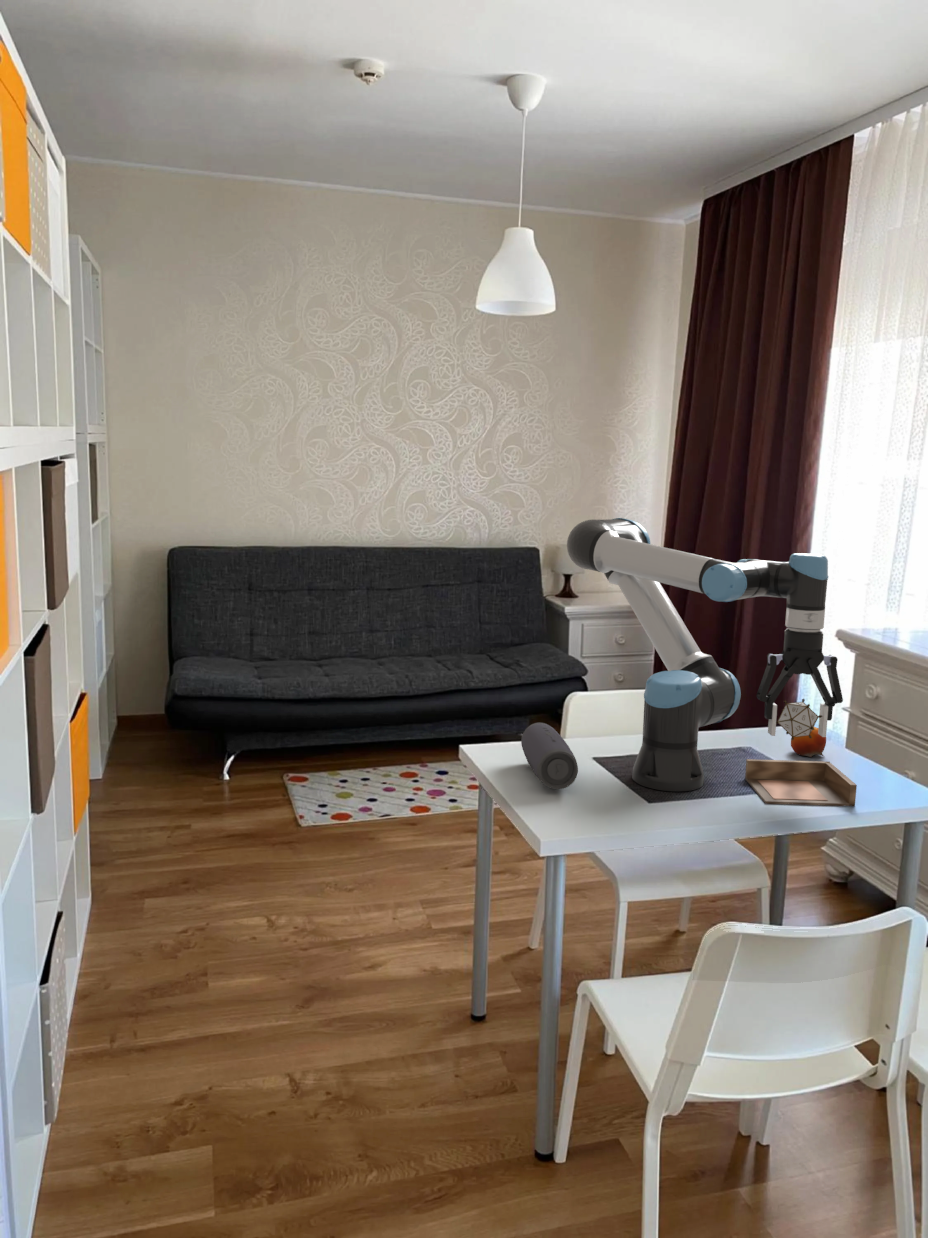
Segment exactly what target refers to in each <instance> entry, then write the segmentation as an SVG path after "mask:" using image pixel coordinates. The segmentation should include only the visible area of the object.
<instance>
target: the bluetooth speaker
mask: <svg viewBox="0 0 928 1238" xmlns="http://www.w3.org/2000/svg"><path fill="white" fill-rule="evenodd" d="M520 742H521V748H522V750H523V754H524V757H525V759H526V761H527V764H528V765H529V766H528V767H530V769H531V770H532V772H533V773H534V774H535V775H536V777H537V778H538V780H539V781H540V782H541V783H543V785H545V786H546V787H547V788H549V789H553V790H562V789H563V790H564V789H566V788H568V787H570V786H571V785H572V784H573V783H574V782H575V780H576V779H577V777H578V775H579V774H578V772H579V765H578V762H577V758H576V757H575V755H574V753H573V751H572V750H571V748H570V746H569V745H568V744H567V742H566V741H565V740H564V738H563V737H562V736H561V735H560V733H558V731H556V729H555V728H554V727H552V726H551V725H549V724H547V723H545V722H534V723H532V724H530V725H528V726H527V727H526V728H525V729H524V731H523V732H522V735H521V739H520Z"/></svg>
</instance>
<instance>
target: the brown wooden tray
mask: <svg viewBox="0 0 928 1238" xmlns="http://www.w3.org/2000/svg"><path fill="white" fill-rule="evenodd" d="M744 774H745V775H744V777H745V778H744V780H745V781H746V782H747V783H748V784H749V786H750V787H751V788H752V789H753V790H754V791H755V793H756V794H757V795H758V797H759V798H760V799H761V800H762V802H763V803H765V804H766V805H797V806H798V805H801V806H802V805H803V806H826V807H827V806H831V807H856V799H857V798H856V797H857V796H856V795H857V787H858V786H857V785H858V784H856V783H855V782H854V781H853V780H851V779H850V778H849V777H848V776H847V775H845V773H843V772H842V771H841V770H839V768H838V767H837V766H835V765H834V764H832V762H830V761H824V760H823V761H819V760H818V761H817V760H816V761H815V760H791V759H790V760H789V759H788V760H787V759H786V760H785V759H784V760H783V759H758V758H757V759H756V758H755V759H754V758H753V759H751V758H749V759H747V758H746V760H745V773H744Z"/></svg>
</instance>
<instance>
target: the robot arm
mask: <svg viewBox="0 0 928 1238" xmlns="http://www.w3.org/2000/svg"><path fill="white" fill-rule="evenodd" d="M566 549H567V554H568V556H569V558H570V559H571V561H572V563H574V564H575V566H578V567H579V568H581V569H584V570H590V571H595V572H598V573H602V574H604V577H605V578H606V579H607V581H608V583H609V584H612V585H616V586H618V587H619V589H620V591H621V593H622V594H623V595H624V598H625V599H626V601H627V603H628V604H629V606H630V608H631V609H632V611H633V613H634V614H635V616H636V618H637V620H638V621H639V623H640V625H641V626H642V628H643V630H644V633H645V634H646V635H647V637H648V638H649V641H650V642H651V644H652V646H653V647H654V649H655V651H656V652H657V654H658V656H659V657H660V659H661V661H662V662H663V665H664V666H665V668H666V669H667V670H662V671H659V672H655V673H653V674H651V675H650V676H649V677H648V678H647V680H646V682H645V689H644V693H643V699H644V702H643V708H644V709H643V725H642V742H641V747H640V749H639V752H638V754H637V756H636V759H635V762H634V764H633V767H632V781H633V782H635V783H636V784H638V785H640V786H642V787H645V788H649V789H653V790H657V791H665V792H688V791H689V792H690V791H695V790H698V789H700V788H702V787H703V785H704V777H705V773H704V768H703V766H702V761H701V757H700V755H699V750H698V741H699V740H698V739H699V738H698V737H699V728H701V727H705V726H708V725H709V726H710V725H711V724H718V723H721V722H722V721H723V720H726V719H728V718H730V717H732V715H733V714H734V713H735V712H736V711H737V709H738V708H739V705H740V700H741V695H742V694H741V687H740V684H739V681H738V679H737V678H736V677H735V675H734V674H733V673H732V672H730V671H729V670H727V669H724V668H721V667H719V666H718V664H717V662H716V661H715V659H714V657H713V656H712V655H711V654H707V653H704V652H703V651H701V649H700V647H699V646H698V644H697V642H696V641H695V639H694V637H693V635H692V633H690V631H689V629H688V628H687V626H686V624H685V622H684V621H683V619H682V617H681V616H680V614H679V612H678V610H677V608H676V607H675V606H674V604H673V602H672V600H671V599H670V598H669V596H668V594H667V592H666V591H665V589H664V587H663V586H662V584H664V585H669V586H673V587H675V588H680V589H684V590H689V591H693V592H696V593H700V594H703V595H706V596H707V597H708V598H709V599H710V600H712V601H715V602H723V603H728V602H734V601H737V600H744V599H751V598H756V597H757V598H758V597H770V598H780V599H786V611H785V624H784V626H785V627H786V629H785V630H784V640H783V650H782V652H781V653H779V654H777V653H776V654H773V653H768V654H767V655H766V657H767V659H766V661H767V663H766V666H765V670H764V673H763V676H762V678H761V681H760V684H759V686H758V690H757V693H756V694H755V695H756V696H755V697H756V698H757V700H759V701H760V702H763V703H764V718H765V719H766V720H768V723H767V724H768V725H767V733H768V734H769V735H770V736H771V737H772V736H773V737H775V736H776V732H777V731H776V729H777V724H776V721H777V716H778V704H776V703H775V702H776V700H777V699H778V697H779V695H780V694H781V692H782V691H783V689H784V688H785V686H786V685H787V683H788V682H789V680H790V679H791V678H792V677H793V676H794V675H801V674H802V675H809V676H811V677H812V679H813V682H814V684H815V686H816V688H817V689H818V692H819V694H820V696H821V697H822V699H823V703H822V702H821V703H820V704H819V715H821V716H822V717H821V718H818V727H817V728H818V734H819V735H820V736H822V737H826V738H827V731H828V730H827V729H828V721H832V719H833V709H834V707H835V706H836V704H842V703H843V701H844V699H843V693H842V689H841V685H840V680H839V679H840V678H839V674H838V670H837V667H838V657H837V656H835V655H833V654H829V655H825V654H824V653H823V643H824V642H823V641H824V632H823V631H822V630H823V629H824V627H825V617H826V616H825V615H826V600H827V587H828V579H829V560H828V558H827V556H825V555H824V554H821V553H805V552H804V553H803V552H801V553H800V552H799V553H798V552H797V553H792V554H791V555H790V556H789V560H788V561H776V560H775V561H774V560H764V559H758V558H747V559H746V558H743V559H739V560H737V562H731V561H726V560H723V559H722V560H721V559H716V558H713V557H708V556H705V555H699V554H695V553H691V552H686V551H682V550H679V549H678V550H677V549H674V548H670V547H669V548H668V547H666V546H665V547H663V546H660V545H656V544H652V543H651V538H650V536H649V533H648V532H647V530H646V529H645V527H644V526H643V525H641V523H639V522H637V521H635V520H633V519H629V518H624V517H616V518H612V519H609V518H608V519H587V520H584V521H581V522H580V523H578V524H576V526H574V527H573V528H572V530H571V531H570V532H569V535H568V536H567V541H566ZM781 661H782V662H783V663H784V666H783V668H782V670H781V673H780V675H779V676H778V677H777V679H776V680H775V682H774V684H773V685H771V684H772V682H773V678H774V676H775V673H776V670H777V666H778V665H779V664H780V662H781ZM822 663H824V665H825V666H826V670H827V671H826V672H827V676H828V680H829V685H830V686H829V687H830V690H831V694H830V692H829V690H828V687H827V686H826V683H825V682H824V679H823V677H822V674H821V672H820V670H819V668H818V667H819V666H820V665H821V664H822ZM770 687H771V688H770ZM819 715H818V716H819Z"/></svg>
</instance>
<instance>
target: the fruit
mask: <svg viewBox="0 0 928 1238" xmlns="http://www.w3.org/2000/svg"><path fill="white" fill-rule="evenodd" d="M813 728H814V730H812V731H811V734H810V735H811V736H812V739H811V738H809V736H801V737H794V740H791V739H790V747H791V748H792V750H793V751H794V752H795V753H796V754H797V755H799V756H802V757H809V758H812V757H813V756H814V755H815V756H816V755H819V756H822V757H824V758H825V756H824V754H823V753H824V751H825V747H826V745H827V736H826V737H822V736H820V735H819V734H818V727H816V726H814V727H813Z"/></svg>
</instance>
